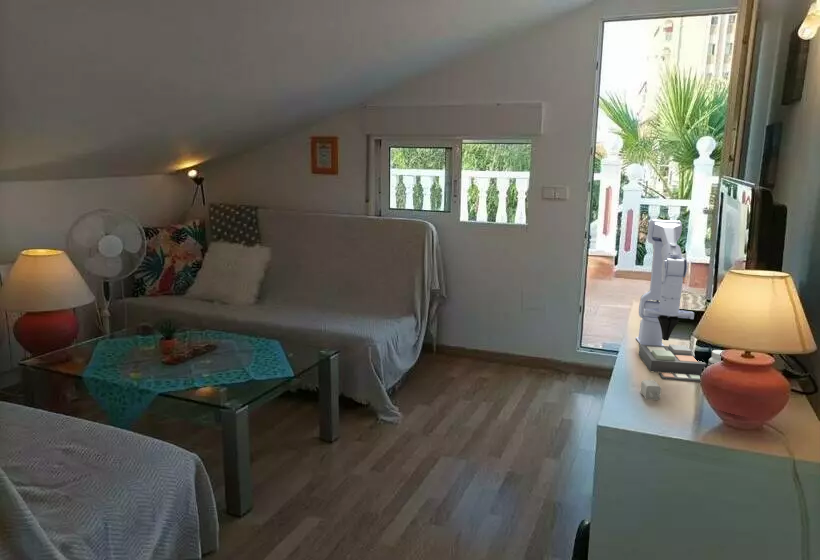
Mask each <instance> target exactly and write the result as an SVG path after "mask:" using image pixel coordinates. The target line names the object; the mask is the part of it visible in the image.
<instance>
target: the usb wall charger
mask: <svg viewBox="0 0 820 560" xmlns="http://www.w3.org/2000/svg"><path fill="white" fill-rule="evenodd" d="M661 392H662V387H661V385H659V384H658V382H657V381H656V380H653V379H642V380H641V384H640V393H641V395H643V397H644V398H645V400H652V399H654V400H655V401H656V400H657V401H658V400H660V399H661ZM654 400H653V401H654Z"/></svg>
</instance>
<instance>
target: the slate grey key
mask: <svg viewBox="0 0 820 560" xmlns="http://www.w3.org/2000/svg"><path fill="white" fill-rule="evenodd" d="M668 346H669V350H670V351H671V352H672V353H673V354H688V355H691V352H692V351H691V350H690V349H689V348H690V347H689V346H688V345H685V344H681V345H680V344H670V343H669V344H668Z"/></svg>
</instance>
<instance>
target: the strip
mask: <svg viewBox="0 0 820 560" xmlns="http://www.w3.org/2000/svg"><path fill="white" fill-rule="evenodd" d="M658 375H659V376H660V378H661V379H662V380H669V381H671V380H672V381H683V382H698V383H701V382H700V375H692V374H678V373H664V372H658Z"/></svg>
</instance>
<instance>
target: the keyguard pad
mask: <svg viewBox="0 0 820 560" xmlns="http://www.w3.org/2000/svg"><path fill="white" fill-rule="evenodd" d="M647 346H648V347H663V348H665V350H666V351H670V350H669V345H664V346H657V345H642V344H640V343H639V347H638V348H639V349H638V356H639V357H640V359H641V360H642V362H643V363H644V365H645V366H646V367H647V369H648V370H649V372H650V371H654V372H653V373H673V374H687V375H700V374H701V372H702V369H703V368H704V367H705V366H706V367H707V363H706V362H705V361H704V362H702V361H699V360H698V362H689V361H679V360H678V359H677V358H676V357H675V361H674V360H660V359H655V358H654V356H653V355H652V352H650V351H649V350H648V349H647ZM688 348H689V349H690V350H691V351H692V350H693V349H692V348H691V347H688ZM672 354H673V353H672ZM673 355H674V356H675V355H685V356H693V357H694V355H693V352H691V355H688V354H673Z"/></svg>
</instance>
